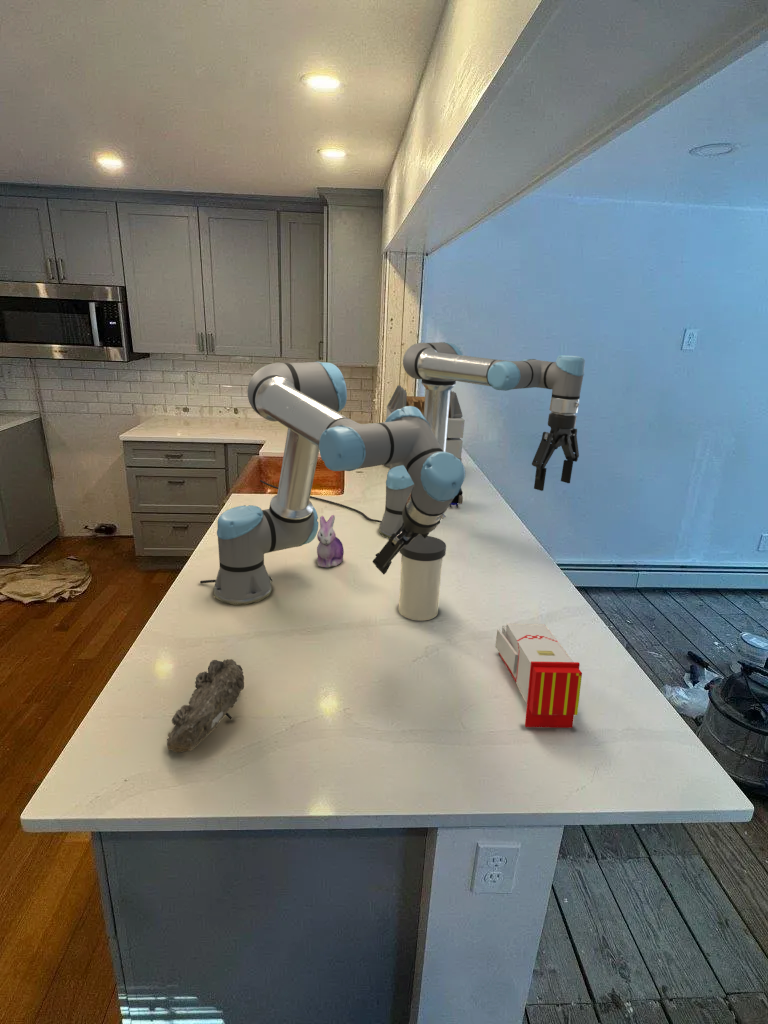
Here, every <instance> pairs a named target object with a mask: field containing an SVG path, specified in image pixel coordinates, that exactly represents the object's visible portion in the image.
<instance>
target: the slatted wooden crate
mask: <svg viewBox="0 0 768 1024" xmlns="http://www.w3.org/2000/svg"><path fill="white" fill-rule="evenodd" d="M407 394H408V393H407V390H406V389H404V388H403V387H402V385H399V384H398V385H397V386H396V388H395V390H394V392H393V394H392V395H391V398H390V400H389V402H388V404H387V405H386V413H385V414H386V415H385V420H386V419H387V417H388V416H389V415H390V414H391V413H392V412H394V411H395V410H397V409H402V408H403V407H405V406H413V407H416V408H418V409H419V410H420V412H421V413H422V415H423V416H424V404H425V396H415V395H414V396H413V395H412V396H411V395H407ZM464 429H465V419H464V418H463V411H462V408H461V405H460V402H459V398H458V395H457V392H455V391H453V390H451V392H450V404H449V416H448V428H447V441H446V452H448V453H451V454H453V455H454V456H455V457H456V458H458V459H460V461H461V462H462V461H463V460H462V453H463V442H464V441H463V440H462V439H463V438H464V431H465V430H464ZM462 463H463V462H462ZM401 465H403V463H402V462H400V463H393V464H386V465H383V466H384V467H388V468H389V470H390V469H392V468H394V467H396V466H401Z"/></svg>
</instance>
